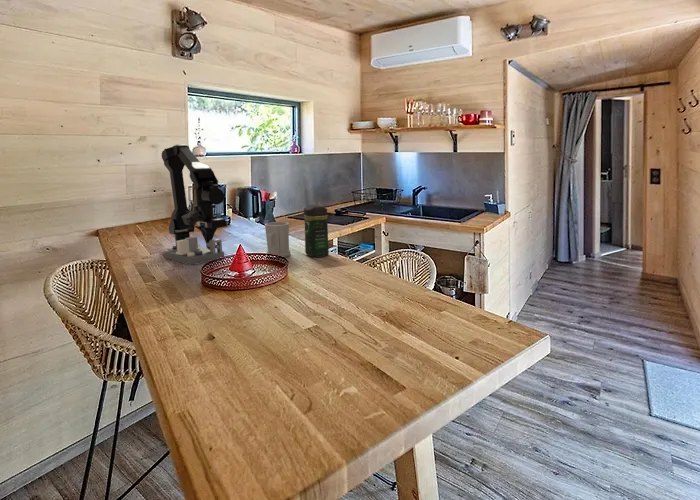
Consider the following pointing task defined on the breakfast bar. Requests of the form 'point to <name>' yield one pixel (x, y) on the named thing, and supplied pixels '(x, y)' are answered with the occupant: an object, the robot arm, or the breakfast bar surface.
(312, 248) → the coffee jar
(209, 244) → the plunger
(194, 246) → the white stepped block
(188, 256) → the console
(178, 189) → the robot arm
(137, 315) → the breakfast bar surface
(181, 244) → the cream flanged block
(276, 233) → the cup
